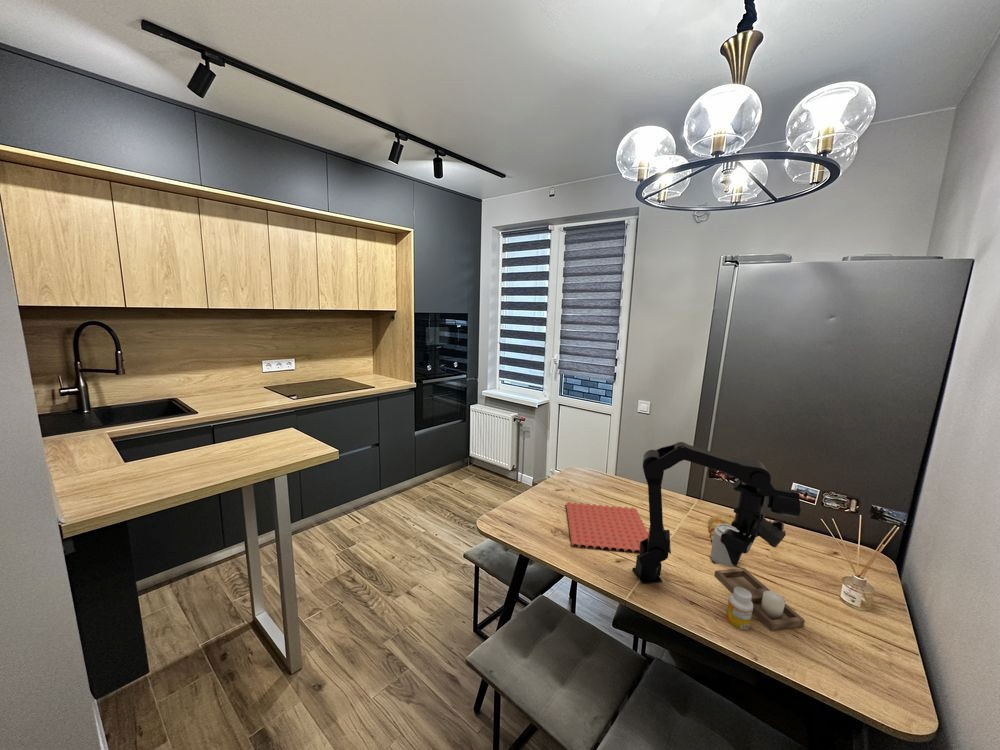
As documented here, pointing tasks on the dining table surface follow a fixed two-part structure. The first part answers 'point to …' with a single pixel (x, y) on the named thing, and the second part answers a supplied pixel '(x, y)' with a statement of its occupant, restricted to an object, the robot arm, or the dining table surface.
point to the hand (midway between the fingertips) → (740, 558)
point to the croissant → (719, 522)
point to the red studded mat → (605, 526)
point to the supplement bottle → (740, 608)
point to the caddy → (758, 598)
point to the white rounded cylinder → (772, 605)
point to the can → (720, 546)
